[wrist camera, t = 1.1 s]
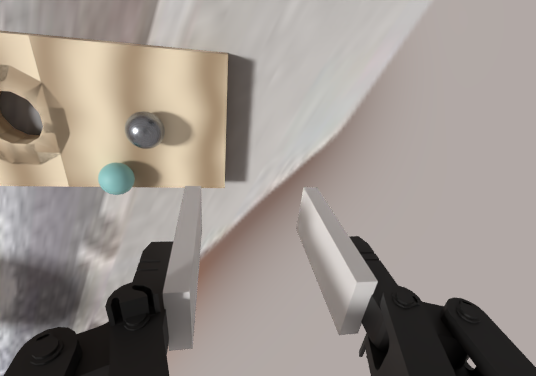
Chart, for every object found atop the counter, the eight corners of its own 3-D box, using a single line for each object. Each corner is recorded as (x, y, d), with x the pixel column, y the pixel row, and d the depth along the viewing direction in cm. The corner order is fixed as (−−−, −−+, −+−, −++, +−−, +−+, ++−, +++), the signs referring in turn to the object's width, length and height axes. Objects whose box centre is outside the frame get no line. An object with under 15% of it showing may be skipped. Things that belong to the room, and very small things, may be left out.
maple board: (227, 52, 26) (228, 54, 24) (224, 177, 32) (224, 188, 30) (-86, 22, 22) (-119, 21, 20) (-21, 173, 28) (-41, 185, 26)
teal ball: (136, 158, 27) (127, 171, 24) (139, 185, 28) (132, 200, 26) (102, 157, 26) (89, 170, 24) (107, 185, 28) (96, 200, 25)
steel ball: (166, 108, 25) (159, 117, 22) (168, 142, 27) (163, 154, 24) (127, 106, 25) (116, 115, 22) (132, 141, 26) (122, 153, 23)
